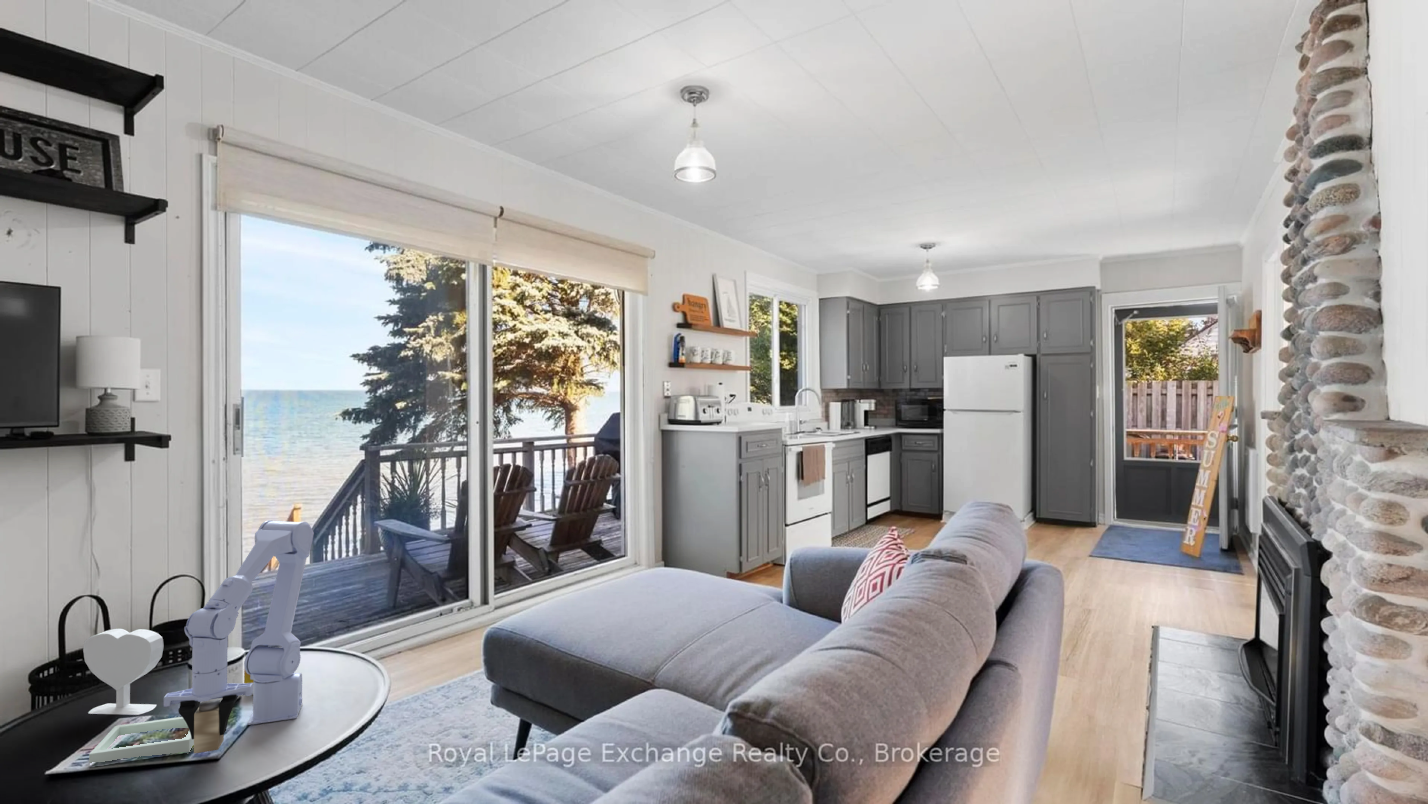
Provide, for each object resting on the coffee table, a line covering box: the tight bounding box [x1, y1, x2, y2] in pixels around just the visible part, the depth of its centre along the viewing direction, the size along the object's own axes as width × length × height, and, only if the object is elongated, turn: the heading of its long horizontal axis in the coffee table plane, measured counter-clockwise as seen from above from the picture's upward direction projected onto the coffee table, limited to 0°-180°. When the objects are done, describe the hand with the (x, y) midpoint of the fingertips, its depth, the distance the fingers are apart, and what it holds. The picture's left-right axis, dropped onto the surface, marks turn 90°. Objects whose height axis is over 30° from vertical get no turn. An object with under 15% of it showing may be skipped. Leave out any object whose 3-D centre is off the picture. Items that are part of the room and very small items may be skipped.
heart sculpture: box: [82, 628, 164, 716], centre depth 156 cm, size 16×5×18 cm, turn 90°
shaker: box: [193, 698, 225, 754], centre depth 137 cm, size 4×4×9 cm
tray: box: [88, 716, 194, 764], centre depth 140 cm, size 16×12×3 cm
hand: (209, 734), depth 137 cm, fingers closed on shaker, 4 cm apart
